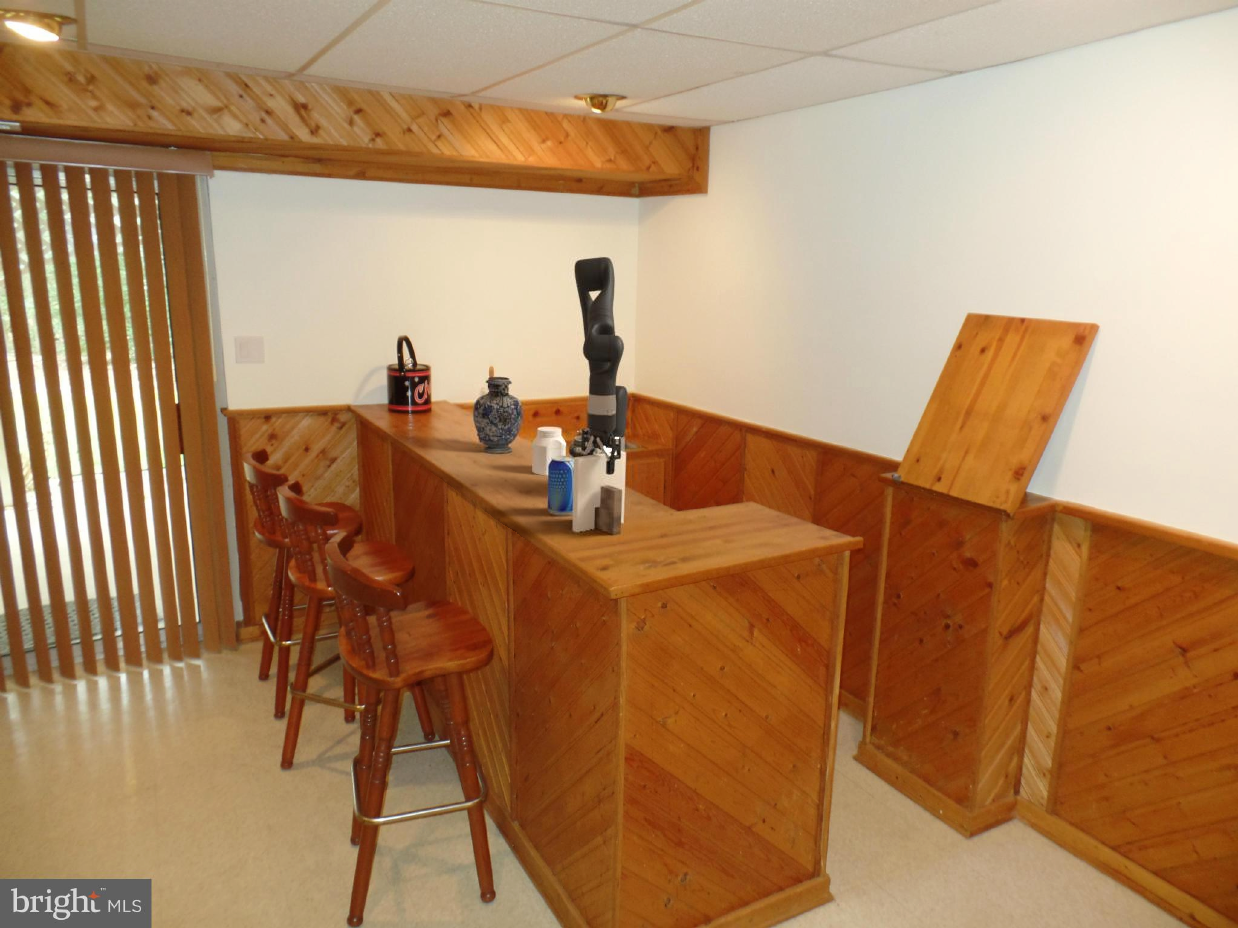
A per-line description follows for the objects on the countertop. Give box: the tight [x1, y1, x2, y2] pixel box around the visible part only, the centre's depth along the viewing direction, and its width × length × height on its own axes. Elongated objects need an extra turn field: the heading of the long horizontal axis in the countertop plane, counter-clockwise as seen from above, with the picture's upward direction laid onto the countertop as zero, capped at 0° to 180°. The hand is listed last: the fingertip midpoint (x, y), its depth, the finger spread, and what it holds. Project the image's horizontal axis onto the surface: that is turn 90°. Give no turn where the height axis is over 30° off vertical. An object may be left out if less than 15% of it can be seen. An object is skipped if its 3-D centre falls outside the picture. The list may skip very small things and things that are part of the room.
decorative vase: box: [472, 376, 524, 455], centre depth 320 cm, size 21×19×28 cm
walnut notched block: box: [594, 485, 622, 536], centre depth 229 cm, size 16×2×12 cm, turn 39°
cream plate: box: [572, 451, 627, 533], centre depth 228 cm, size 16×2×20 cm, turn 129°
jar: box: [531, 426, 567, 476], centre depth 290 cm, size 12×10×15 cm
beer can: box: [547, 455, 574, 517], centre depth 242 cm, size 8×8×16 cm
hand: (600, 470), depth 227 cm, fingers open, 8 cm apart
